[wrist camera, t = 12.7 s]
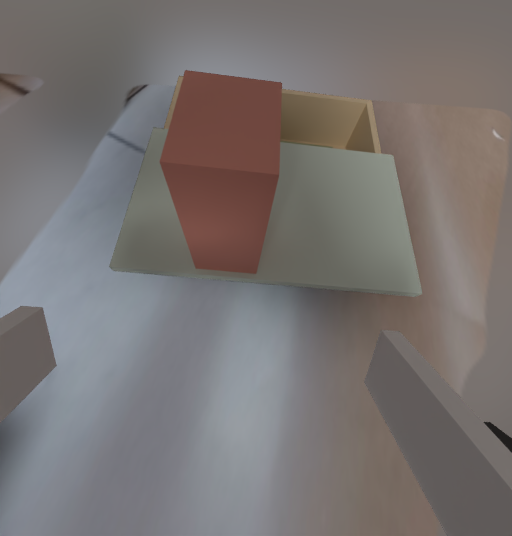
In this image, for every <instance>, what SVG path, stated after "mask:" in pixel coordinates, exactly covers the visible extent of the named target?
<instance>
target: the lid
mask: <svg viewBox="0 0 512 536" xmlns="http://www.w3.org/2000/svg"><path fill="white" fill-rule="evenodd" d="M281 101H282V83H280V82H272V81H265V80H256V79H249V78H242V77H234V76H226V75H218V74H211V73H203V72H195V71H187V70H186V71H185V73H184V76H183V80H182V83H181V87H180V91H179V94H178V98H177V101H176V105H175V108H174V112H173V115H172V119H171V122H170V126H169V129H163V128H155V127H153V130H152V133H151V137H150V140H149V143H148V146H147V149H146V152H145V156H144V159H143V162H142V165H141V168H140V171H139V174H138V178H137V181H136V184H135V187H134V190H133V193H132V196H131V200H130V203H129V206H128V209H127V212H126V215H125V218H124V222H123V225H122V228H121V231H120V234H119V237H118V241H117V244H116V247H115V250H114V253H113V256H112V259H111V263H110V266H109V267H110V268H111V269H112V270H113V271H119V272H131V273H143V274H155V275H166V276H178V277H190V278H202V279H213V280H225V281H237V282H248V283H260V284H272V285H284V286H295V287H307V288H319V289H330V290H342V291H354V292H366V293H377V294H389V295H401V296H413V297H416V296H418V295H421V294H422V290H421V285H420V280H419V275H418V271H417V266H416V261H415V257H414V252H413V247H412V242H411V238H410V233H409V228H408V224H407V219H406V214H405V209H404V205H403V200H402V195H401V191H400V186H399V181H398V176H397V172H396V167H395V162H394V158H393V155H387V154H378V153H370V152H361V151H352V150H344V149H335V148H327V147H318V146H309V145H301V144H292V143H284V142H280V135H281Z"/></svg>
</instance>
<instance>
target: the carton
mask: <svg viewBox="0 0 512 536" xmlns="http://www.w3.org/2000/svg"><path fill="white" fill-rule="evenodd" d="M182 80H183V76H179V78H178V81H177V85H176V88H175V91H174V95H173V98H172V102H171V105H170V108H169V112H168V115H167V119H166V122H165V125H164V129H169V126H170V122H171V119H172V115H173V112H174V108H175V105H176V101H177V98H178V94H179V91H180V87H181V83H182ZM280 142H284V143H292V144H301V145H309V146H318V147H327V148H335V149H344V150H352V151H361V152H370V153H378V154H381V149H380V143H379V138H378V133H377V128H376V122H375V117H374V112H373V106H372V101H371V100H364V99H356V98H348V97H340V96H333V95H324V94H317V93H310V92H301V91H294V90H286V89H282V101H281V135H280Z"/></svg>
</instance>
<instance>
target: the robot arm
mask: <svg viewBox="0 0 512 536" xmlns="http://www.w3.org/2000/svg"><path fill="white" fill-rule="evenodd" d="M56 366H57V365H56V361H55V357H54V353H53V349H52V345H51V340H50V336H49V332H48V328H47V324H46V320H45V315H44V311H43V307H28V306H20V307H19V308H17V309H15V310H14V311H12V312H10V313H9V314H7V315H5V316H4V317H2V318H1V319H0V423H1V422H2V421H3V420H4V419H5V418H6V417H7V416H8V415H9V414H10V412H11V411H12V410H13V409H14V408H15V407H16V406H17V405H18V404H19V403H20V402H21V401H22V400H23V399H24V398H25V397H26V396H27V395H28V394H29V393H30V392H31V391H32V390H33V389H34V388H35V387H36V386H37V385H38V384H39V383H40V382H41V381H42V380H43V379H44V378H45V377H46V376H47V375H48V374H49V373H50V372H51V371H52V370H53V369H54V368H55V367H56ZM364 383H365V384H366V386H367V388H368V390H369V392H370V394H371V396H372V398H373V399H374V401H375V403H376V405H377V407H378V409H379V411H380V412H381V414H382V416H383V418H384V420H385V422H386V424H387V425H388V427H389V429H390V431H391V433H392V435H393V437H394V438H395V440H396V442H397V444H398V446H399V448H400V450H401V451H402V453H403V455H404V457H405V459H406V461H407V463H408V464H409V466H410V468H411V470H412V472H413V474H414V476H415V477H416V479H417V481H418V483H419V485H420V487H421V489H422V490H423V492H424V494H425V496H426V498H427V500H428V502H429V503H430V505H431V507H432V509H433V511H434V513H435V515H436V517H437V518H438V520H439V522H440V524H441V526H442V528H443V530H444V531H445V533H446V535H447V536H512V438H510V437H509V436H508V435H506V434H505V433H504V432H502V431H501V430H500V429H498V428H497V427H496V426H494V425H493V424H491V423H490V422H483V421H482V420H481V419H480V418H479V417H478V416H477V415H476V414H475V413H474V412H473V410H472V409H471V408H470V407H469V406H468V405H467V404H466V403H465V402H464V401H463V400H462V399H461V397H460V396H459V395H458V394H457V393H456V392H455V391H454V390H453V389H452V388H451V387H450V386H449V384H448V383H447V382H446V381H445V380H444V379H443V378H442V377H441V376H440V375H439V374H438V373H437V371H436V370H435V369H434V368H433V367H432V366H431V365H430V364H429V363H428V362H427V361H426V360H425V358H424V357H423V356H422V355H421V354H420V353H419V352H418V351H417V350H416V349H415V348H414V347H413V345H412V344H411V343H410V342H409V341H408V340H407V339H406V338H405V337H404V336H403V335H402V333H401V332H400V331H389V330H381V332H380V335H379V338H378V341H377V344H376V347H375V350H374V354H373V357H372V360H371V363H370V366H369V369H368V372H367V375H366V378H365V381H364Z"/></svg>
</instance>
